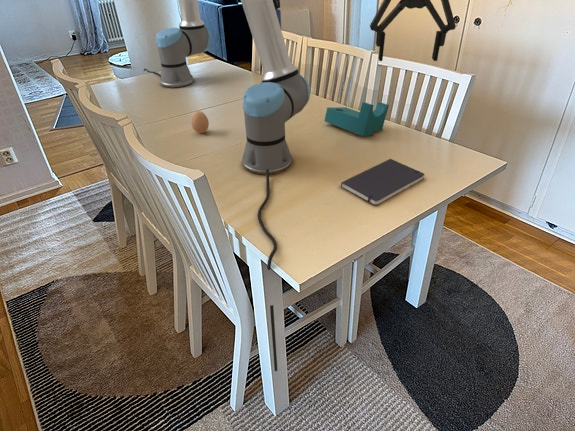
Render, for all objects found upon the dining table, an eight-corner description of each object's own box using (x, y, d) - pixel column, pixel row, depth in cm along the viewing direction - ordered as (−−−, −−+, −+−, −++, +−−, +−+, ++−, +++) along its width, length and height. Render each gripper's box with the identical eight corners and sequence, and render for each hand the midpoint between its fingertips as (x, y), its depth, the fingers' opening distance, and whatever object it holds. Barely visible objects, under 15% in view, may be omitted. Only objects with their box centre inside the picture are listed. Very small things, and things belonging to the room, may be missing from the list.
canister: (269, 36, 168) (268, 8, 162) (286, 39, 163) (285, 10, 157) (255, 40, 162) (253, 11, 156) (272, 43, 158) (270, 13, 152)
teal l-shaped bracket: (380, 134, 144) (388, 104, 140) (363, 135, 137) (370, 104, 132) (342, 120, 155) (349, 92, 151) (324, 121, 148) (330, 92, 143)
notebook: (389, 163, 124) (340, 187, 113) (390, 158, 123) (341, 182, 112) (424, 178, 116) (375, 206, 105) (425, 174, 115) (376, 201, 104)
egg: (195, 137, 143) (191, 115, 138) (191, 131, 147) (187, 110, 142) (211, 134, 144) (208, 112, 140) (207, 127, 149) (204, 107, 144)
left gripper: (263, -36, 138) (267, 34, 151) (287, -41, 154) (289, 24, 167) (243, -36, 141) (249, 33, 154) (269, -41, 157) (272, 23, 170)
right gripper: (473, -41, 93) (453, 55, 105) (364, -38, 95) (357, 55, 108) (483, -38, 87) (461, 63, 99) (366, -36, 89) (358, 63, 101)
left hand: (270, 28), depth 160 cm, fingers closed on canister, 9 cm apart
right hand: (407, 59), depth 104 cm, fingers open, 13 cm apart
